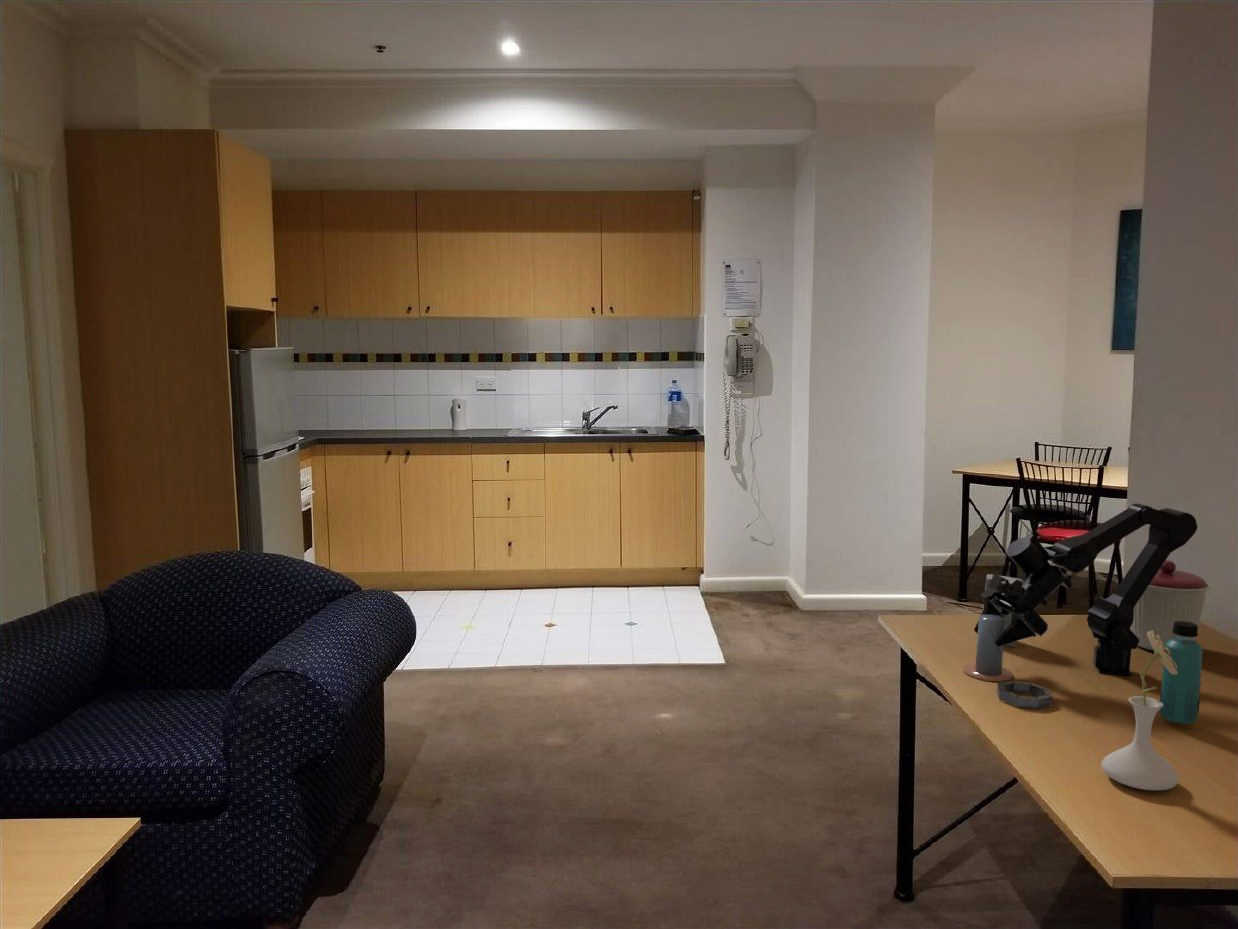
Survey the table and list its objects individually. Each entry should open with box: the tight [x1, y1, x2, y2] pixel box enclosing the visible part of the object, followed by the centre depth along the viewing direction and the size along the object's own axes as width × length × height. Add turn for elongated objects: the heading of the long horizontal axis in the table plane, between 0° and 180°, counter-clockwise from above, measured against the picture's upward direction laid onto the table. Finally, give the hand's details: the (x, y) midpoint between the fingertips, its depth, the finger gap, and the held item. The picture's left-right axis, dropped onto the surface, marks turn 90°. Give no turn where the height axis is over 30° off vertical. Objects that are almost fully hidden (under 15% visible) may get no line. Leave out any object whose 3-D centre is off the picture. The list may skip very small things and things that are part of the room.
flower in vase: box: [1100, 630, 1180, 791], centre depth 159 cm, size 13×11×25 cm
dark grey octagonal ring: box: [996, 680, 1053, 710], centre depth 196 cm, size 10×10×2 cm
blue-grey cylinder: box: [975, 614, 1006, 676], centre depth 210 cm, size 5×5×12 cm
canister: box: [1122, 559, 1211, 652], centre depth 230 cm, size 18×18×21 cm
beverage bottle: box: [1159, 621, 1204, 724], centre depth 183 cm, size 6×7×20 cm
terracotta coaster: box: [963, 663, 1014, 682], centre depth 210 cm, size 10×10×1 cm
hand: (985, 638), depth 209 cm, fingers open, 9 cm apart
